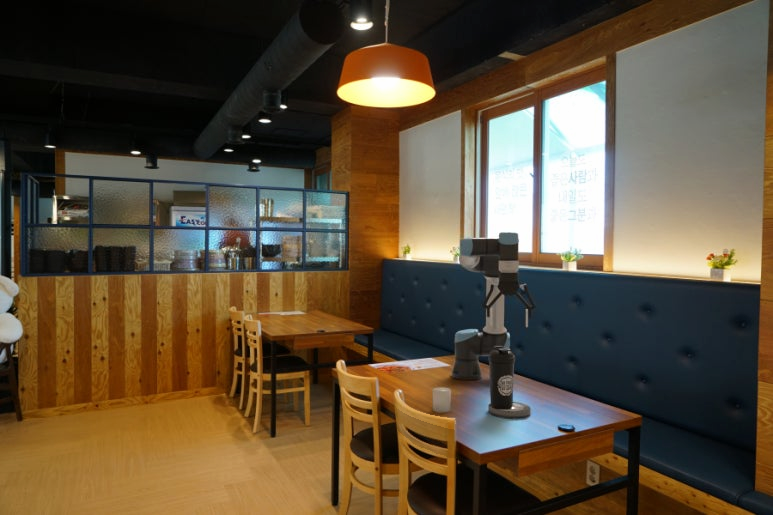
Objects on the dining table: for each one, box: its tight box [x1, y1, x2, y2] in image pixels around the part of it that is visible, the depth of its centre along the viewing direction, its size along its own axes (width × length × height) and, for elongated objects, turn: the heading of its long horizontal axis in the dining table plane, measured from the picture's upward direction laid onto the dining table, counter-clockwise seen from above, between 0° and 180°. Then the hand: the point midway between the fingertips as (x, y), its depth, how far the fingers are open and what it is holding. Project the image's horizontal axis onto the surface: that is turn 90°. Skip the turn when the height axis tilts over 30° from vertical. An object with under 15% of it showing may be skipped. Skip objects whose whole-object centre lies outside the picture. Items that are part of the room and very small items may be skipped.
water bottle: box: [487, 346, 516, 409], centre depth 202 cm, size 10×10×23 cm
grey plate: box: [487, 401, 532, 420], centre depth 201 cm, size 16×16×2 cm
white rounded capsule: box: [432, 386, 452, 414], centre depth 205 cm, size 7×7×8 cm
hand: (508, 326), depth 201 cm, fingers open, 13 cm apart
